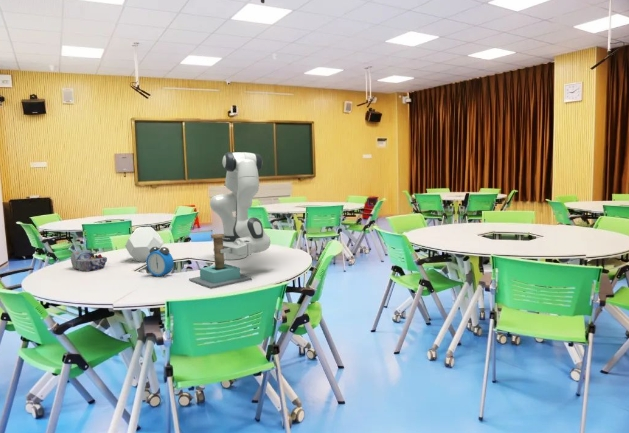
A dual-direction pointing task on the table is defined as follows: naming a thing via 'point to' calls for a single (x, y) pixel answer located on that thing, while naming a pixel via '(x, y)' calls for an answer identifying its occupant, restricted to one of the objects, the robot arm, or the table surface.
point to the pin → (218, 256)
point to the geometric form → (143, 242)
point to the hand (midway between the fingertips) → (217, 250)
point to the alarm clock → (159, 261)
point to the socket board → (211, 285)
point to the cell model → (87, 260)
